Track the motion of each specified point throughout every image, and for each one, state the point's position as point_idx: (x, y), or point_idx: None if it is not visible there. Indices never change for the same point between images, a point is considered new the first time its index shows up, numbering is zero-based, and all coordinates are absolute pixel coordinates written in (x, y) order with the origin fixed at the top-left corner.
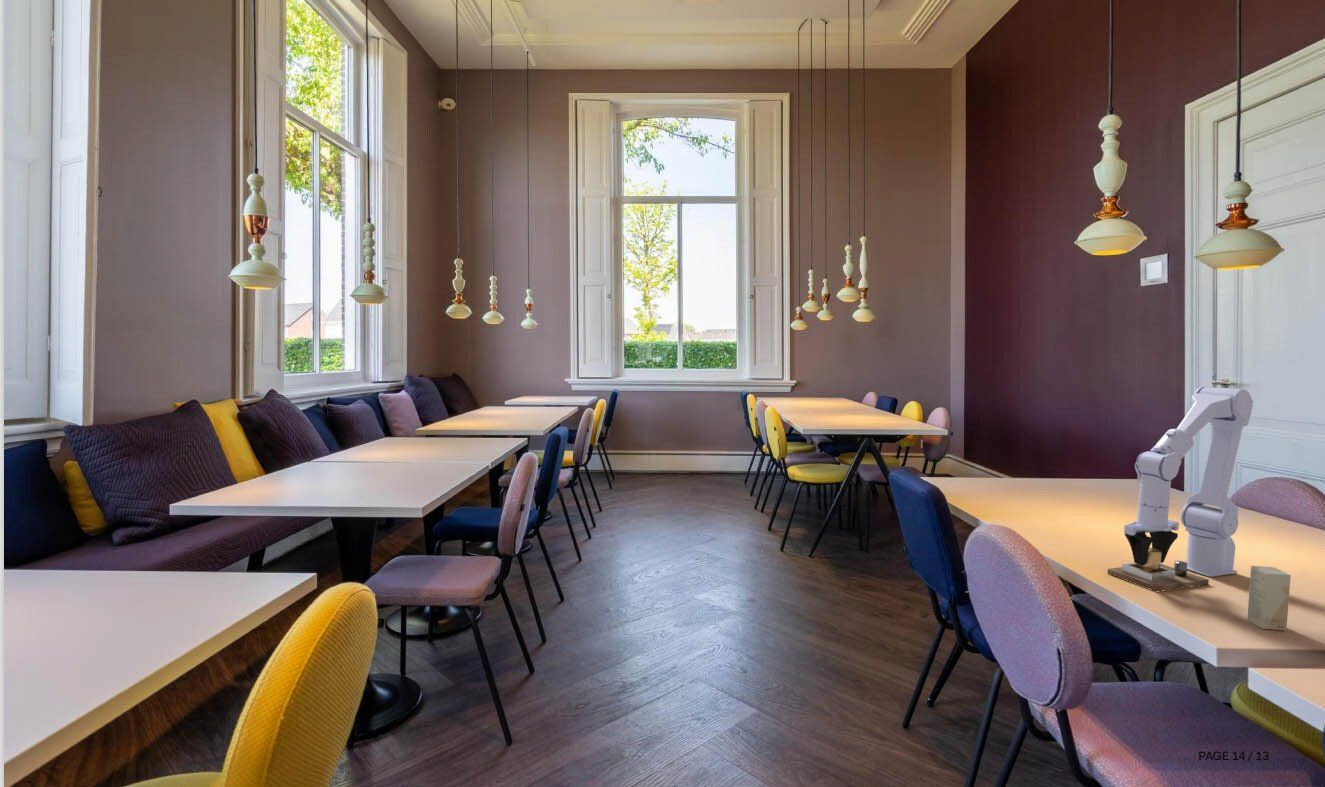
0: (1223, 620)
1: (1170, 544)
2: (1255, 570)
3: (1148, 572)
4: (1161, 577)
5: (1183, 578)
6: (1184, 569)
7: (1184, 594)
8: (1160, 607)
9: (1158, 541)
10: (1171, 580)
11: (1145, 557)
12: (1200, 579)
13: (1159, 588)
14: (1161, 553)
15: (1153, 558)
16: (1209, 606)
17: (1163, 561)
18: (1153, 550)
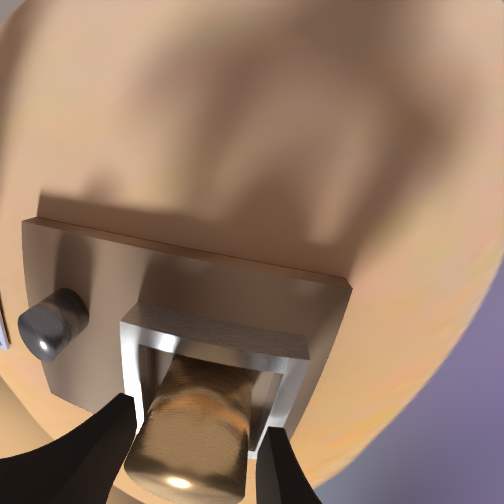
0: (418, 9)
1: (47, 456)
2: None
3: (288, 383)
4: (232, 333)
5: (92, 282)
6: (53, 306)
7: (252, 194)
8: (492, 186)
9: (91, 500)
10: (173, 301)
11: (286, 462)
12: (44, 237)
13: (335, 282)
14: (157, 449)
15: (230, 442)
16: (321, 61)
17: (119, 396)
18: (171, 480)
